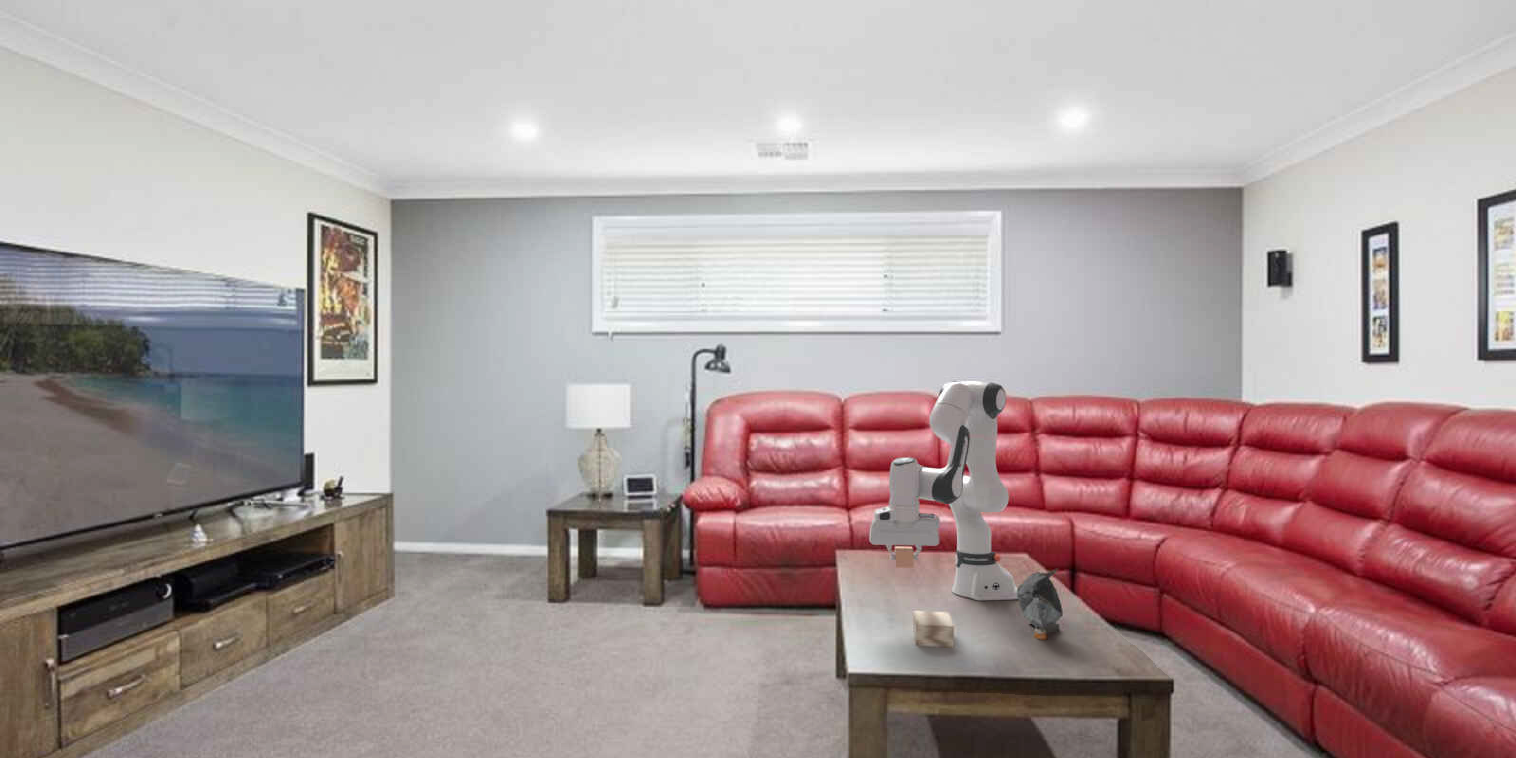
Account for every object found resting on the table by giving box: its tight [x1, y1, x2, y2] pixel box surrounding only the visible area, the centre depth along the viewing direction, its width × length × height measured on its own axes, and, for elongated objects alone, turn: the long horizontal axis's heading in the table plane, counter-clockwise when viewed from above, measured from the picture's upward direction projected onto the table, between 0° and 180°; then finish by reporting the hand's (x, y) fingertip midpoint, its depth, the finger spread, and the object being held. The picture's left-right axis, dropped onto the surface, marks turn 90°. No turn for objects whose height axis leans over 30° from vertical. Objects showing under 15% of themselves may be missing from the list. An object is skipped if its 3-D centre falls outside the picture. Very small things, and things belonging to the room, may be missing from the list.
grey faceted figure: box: [1016, 567, 1063, 640], centre depth 217 cm, size 14×15×18 cm
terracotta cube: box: [894, 545, 915, 569], centre depth 225 cm, size 5×5×5 cm
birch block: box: [913, 610, 955, 648], centre depth 213 cm, size 10×12×6 cm
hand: (904, 559), depth 225 cm, fingers closed on terracotta cube, 5 cm apart
